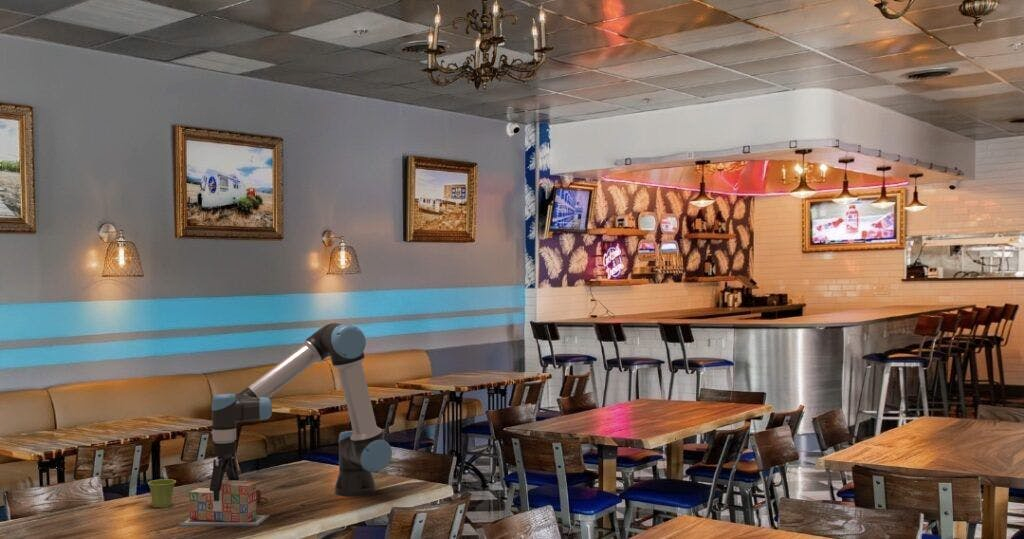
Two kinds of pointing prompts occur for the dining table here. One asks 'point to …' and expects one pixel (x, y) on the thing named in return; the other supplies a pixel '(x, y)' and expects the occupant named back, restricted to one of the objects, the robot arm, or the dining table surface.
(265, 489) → the dining table surface
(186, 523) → the blueprint baseplate
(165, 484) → the plant pot
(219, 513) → the stack of blocks
